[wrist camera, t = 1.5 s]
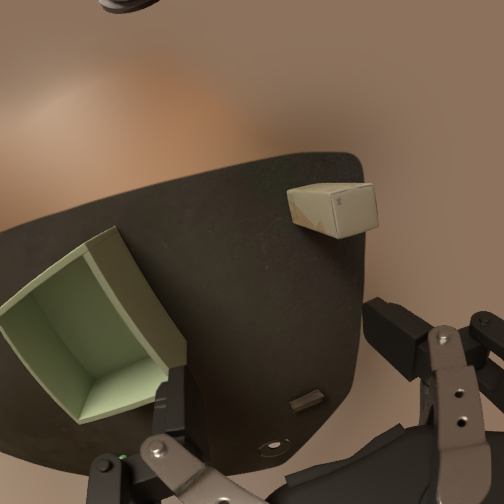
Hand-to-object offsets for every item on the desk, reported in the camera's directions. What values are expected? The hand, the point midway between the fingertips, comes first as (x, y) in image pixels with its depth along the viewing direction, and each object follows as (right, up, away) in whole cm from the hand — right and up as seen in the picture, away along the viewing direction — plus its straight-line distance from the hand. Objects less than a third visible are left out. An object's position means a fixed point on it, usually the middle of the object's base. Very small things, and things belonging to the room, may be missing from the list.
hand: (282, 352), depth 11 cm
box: (+6, +10, +22) cm, 26 cm away
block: (+8, -21, +31) cm, 38 cm away
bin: (-22, -4, +20) cm, 30 cm away
